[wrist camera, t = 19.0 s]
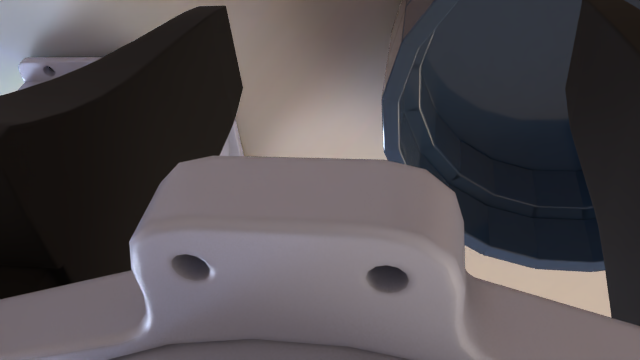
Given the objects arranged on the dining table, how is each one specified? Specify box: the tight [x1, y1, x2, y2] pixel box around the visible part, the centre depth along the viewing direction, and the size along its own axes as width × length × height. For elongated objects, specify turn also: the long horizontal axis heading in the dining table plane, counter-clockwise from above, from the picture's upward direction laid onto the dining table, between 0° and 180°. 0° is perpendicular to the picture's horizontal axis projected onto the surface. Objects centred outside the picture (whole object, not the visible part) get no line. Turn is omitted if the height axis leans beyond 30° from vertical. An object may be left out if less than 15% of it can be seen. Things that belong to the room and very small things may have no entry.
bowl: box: [382, 0, 640, 272], centre depth 21 cm, size 14×14×5 cm
